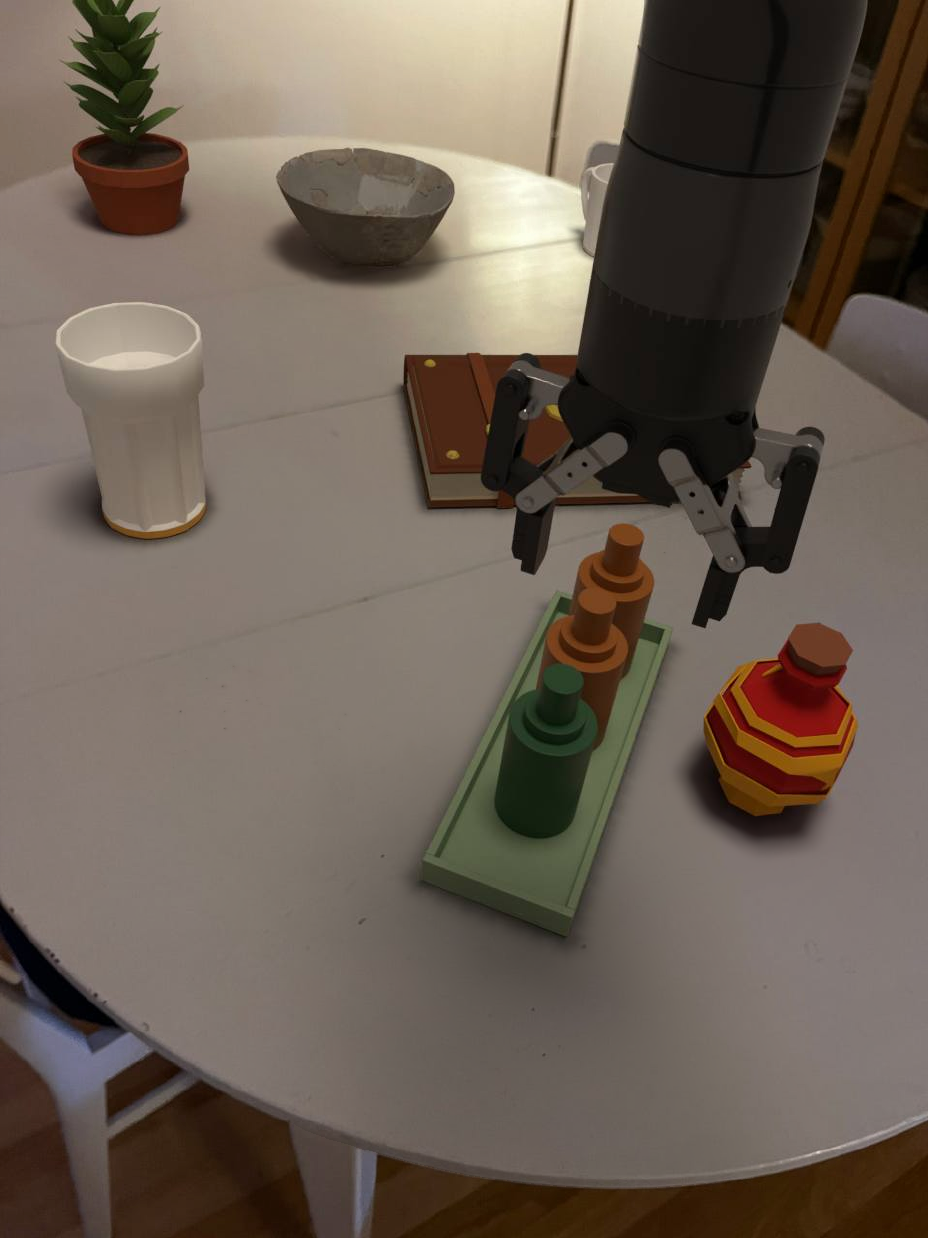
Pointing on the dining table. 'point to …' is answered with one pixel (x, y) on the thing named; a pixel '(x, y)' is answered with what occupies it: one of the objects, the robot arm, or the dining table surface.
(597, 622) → the amber bottle mid
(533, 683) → the tray
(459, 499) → the book
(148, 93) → the potted plant
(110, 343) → the cup
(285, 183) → the ceramic bowl
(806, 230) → the robot arm
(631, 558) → the amber bottle far
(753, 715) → the potion bottle
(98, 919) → the dining table surface
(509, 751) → the green bottle
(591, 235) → the mug
